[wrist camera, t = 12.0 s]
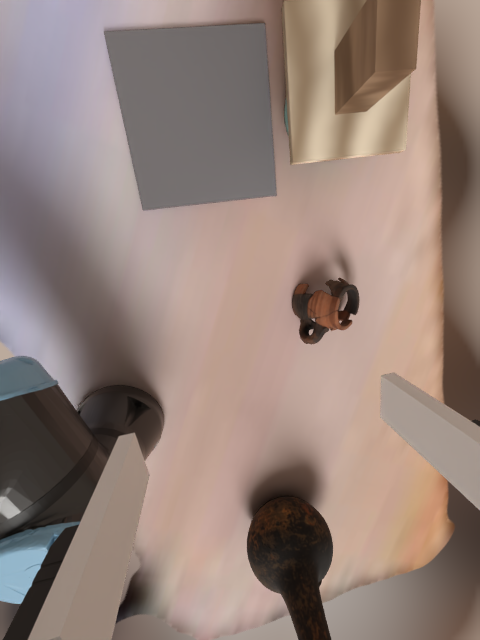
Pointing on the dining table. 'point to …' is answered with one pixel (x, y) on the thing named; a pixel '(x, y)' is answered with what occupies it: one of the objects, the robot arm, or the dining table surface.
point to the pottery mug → (324, 309)
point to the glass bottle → (293, 560)
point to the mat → (196, 112)
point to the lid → (348, 76)
